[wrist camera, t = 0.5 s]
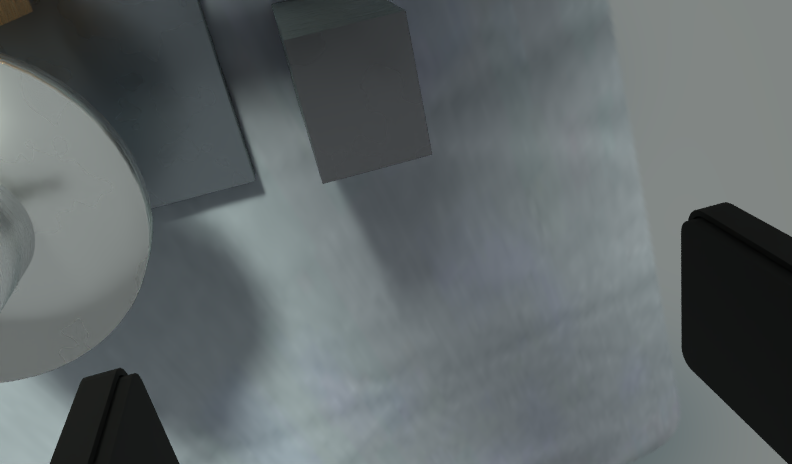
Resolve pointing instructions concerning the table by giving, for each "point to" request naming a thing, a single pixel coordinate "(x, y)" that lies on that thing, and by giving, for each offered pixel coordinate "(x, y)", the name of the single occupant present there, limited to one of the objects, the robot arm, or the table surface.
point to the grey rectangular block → (354, 83)
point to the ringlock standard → (98, 161)
